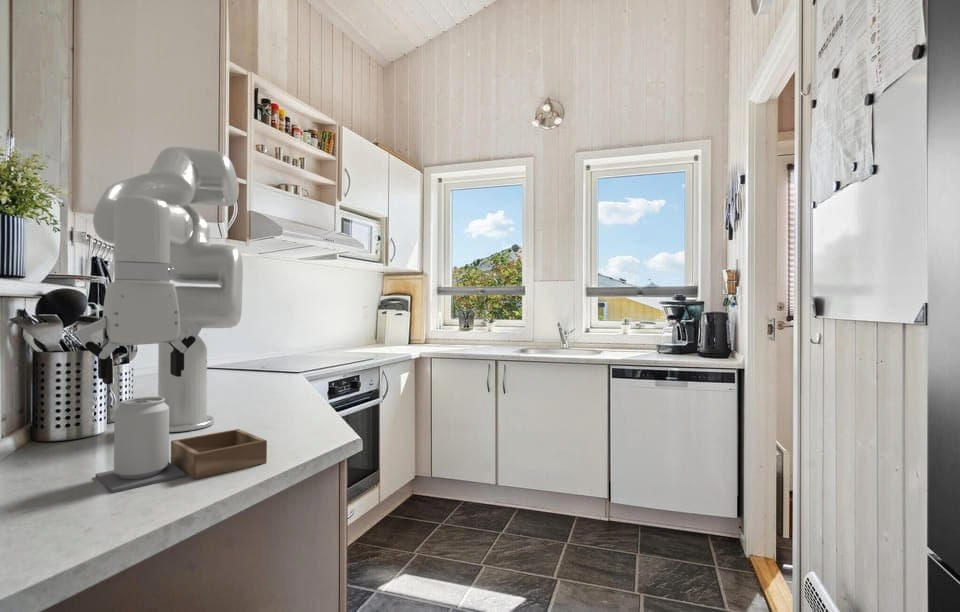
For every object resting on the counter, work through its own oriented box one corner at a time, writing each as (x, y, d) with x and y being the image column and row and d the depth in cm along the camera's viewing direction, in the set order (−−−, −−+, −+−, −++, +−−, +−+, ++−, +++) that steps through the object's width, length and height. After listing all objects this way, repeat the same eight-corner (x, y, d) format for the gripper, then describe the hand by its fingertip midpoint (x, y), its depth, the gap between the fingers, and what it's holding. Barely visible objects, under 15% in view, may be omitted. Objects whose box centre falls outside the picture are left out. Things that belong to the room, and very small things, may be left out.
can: (140, 482, 78) (141, 404, 78) (101, 478, 80) (102, 402, 80) (180, 467, 86) (180, 396, 85) (143, 463, 87) (143, 394, 87)
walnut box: (170, 463, 89) (170, 440, 89) (238, 449, 98) (238, 428, 98) (195, 479, 81) (196, 454, 81) (266, 462, 90) (266, 440, 90)
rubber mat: (95, 476, 82) (95, 473, 82) (165, 462, 89) (165, 459, 89) (112, 493, 75) (112, 489, 75) (186, 476, 83) (186, 473, 83)
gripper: (192, 275, 91) (192, 370, 92) (70, 272, 78) (71, 382, 79) (208, 276, 86) (208, 376, 87) (81, 272, 73) (82, 390, 74)
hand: (143, 379), depth 83 cm, fingers open, 9 cm apart
